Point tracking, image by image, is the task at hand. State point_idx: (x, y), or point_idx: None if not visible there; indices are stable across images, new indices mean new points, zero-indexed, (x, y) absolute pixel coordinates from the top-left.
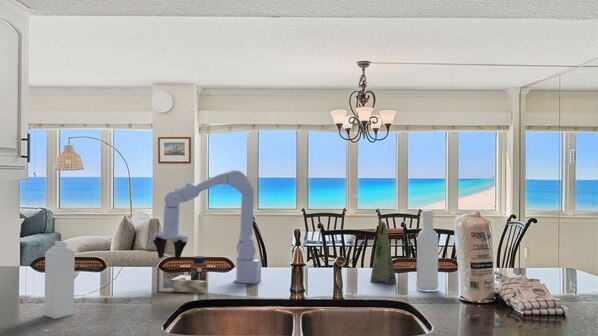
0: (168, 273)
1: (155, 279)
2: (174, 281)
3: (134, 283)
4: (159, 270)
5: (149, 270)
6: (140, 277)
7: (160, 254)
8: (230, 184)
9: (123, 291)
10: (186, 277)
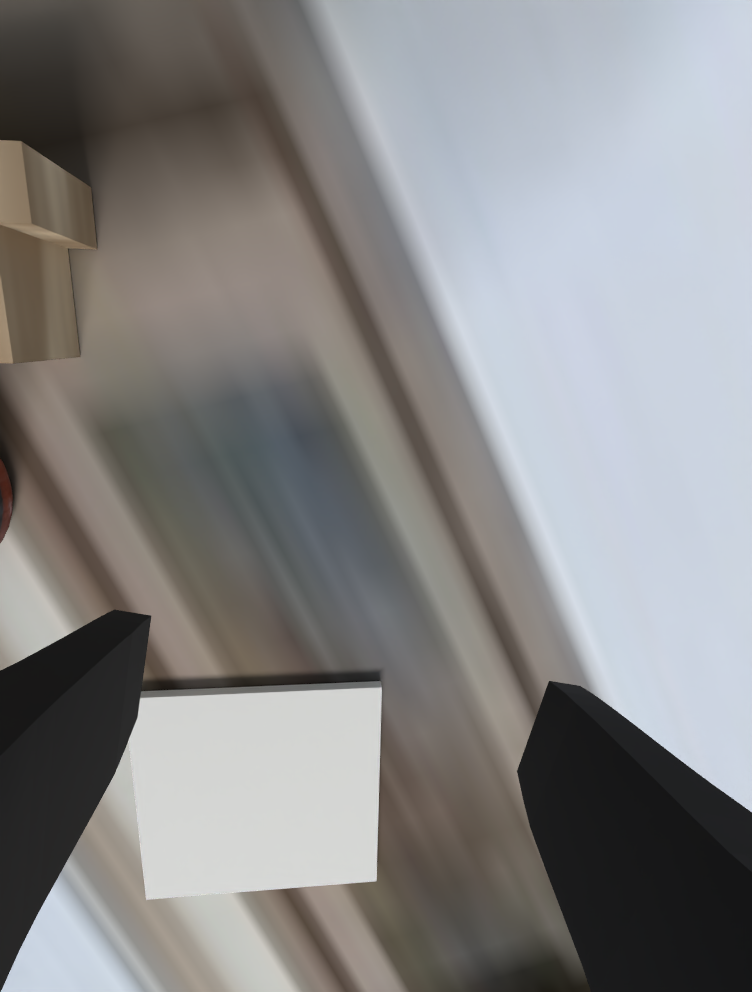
0: (531, 922)
1: (556, 681)
2: (22, 148)
3: (700, 462)
4: None
5: None
6: (726, 714)
7: (576, 745)
8: None
9: (691, 32)
10: (267, 810)
